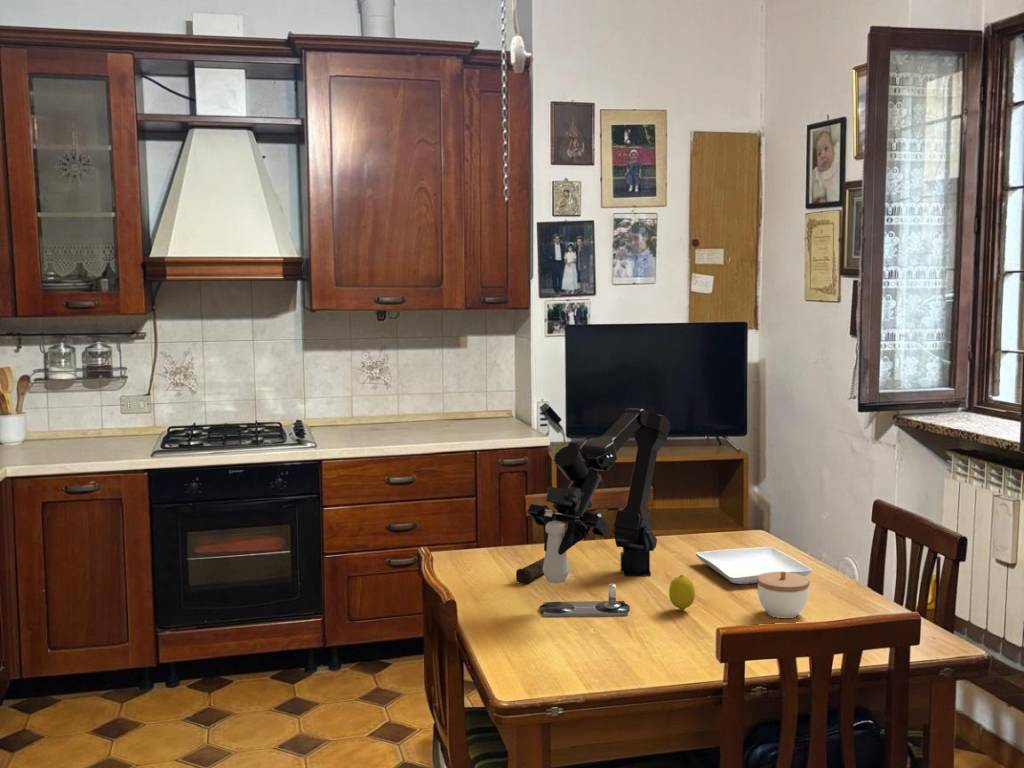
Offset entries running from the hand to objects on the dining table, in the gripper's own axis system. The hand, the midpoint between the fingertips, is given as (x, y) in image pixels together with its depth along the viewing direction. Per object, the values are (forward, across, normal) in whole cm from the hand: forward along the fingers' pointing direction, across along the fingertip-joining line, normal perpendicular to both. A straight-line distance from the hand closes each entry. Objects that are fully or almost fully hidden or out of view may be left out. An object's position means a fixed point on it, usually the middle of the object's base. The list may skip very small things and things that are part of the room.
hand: (552, 552), depth 223 cm
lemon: (-2, +22, +21) cm, 31 cm away
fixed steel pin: (+4, +10, +15) cm, 19 cm away
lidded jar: (-9, +41, +29) cm, 51 cm away
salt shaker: (+4, 0, +6) cm, 7 cm away
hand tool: (-5, -19, +24) cm, 31 cm away
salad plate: (-26, +23, +46) cm, 57 cm away
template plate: (+6, +5, +13) cm, 15 cm away
